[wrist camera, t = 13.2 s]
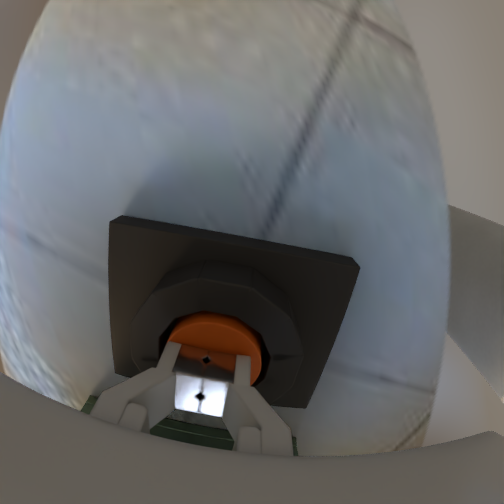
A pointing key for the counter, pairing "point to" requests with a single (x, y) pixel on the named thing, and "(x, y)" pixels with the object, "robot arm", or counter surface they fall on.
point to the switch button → (219, 336)
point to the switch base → (227, 298)
